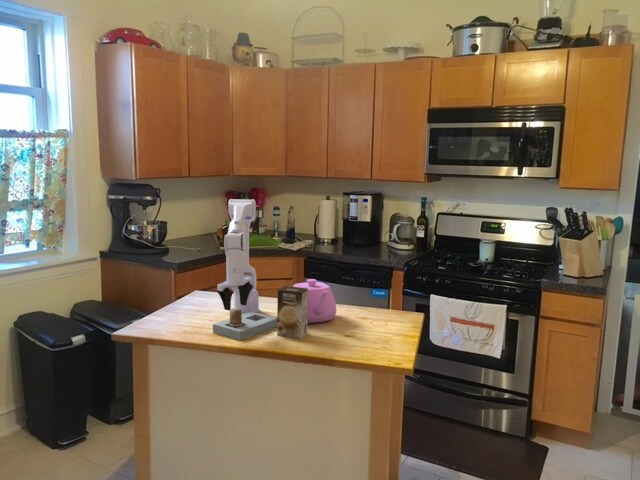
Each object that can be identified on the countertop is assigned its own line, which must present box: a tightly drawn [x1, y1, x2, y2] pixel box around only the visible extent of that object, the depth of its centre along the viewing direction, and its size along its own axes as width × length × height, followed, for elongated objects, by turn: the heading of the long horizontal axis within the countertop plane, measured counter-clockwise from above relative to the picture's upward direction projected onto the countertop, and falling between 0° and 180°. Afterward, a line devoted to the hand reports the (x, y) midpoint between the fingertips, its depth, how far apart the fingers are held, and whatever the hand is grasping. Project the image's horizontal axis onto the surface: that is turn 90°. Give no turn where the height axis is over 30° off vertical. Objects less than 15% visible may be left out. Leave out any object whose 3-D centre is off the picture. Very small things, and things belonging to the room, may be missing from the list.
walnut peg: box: [229, 308, 242, 328], centre depth 181 cm, size 4×4×8 cm
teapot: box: [292, 278, 337, 325], centre depth 194 cm, size 23×21×15 cm
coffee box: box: [276, 285, 308, 339], centre depth 180 cm, size 9×6×16 cm
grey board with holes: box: [212, 312, 277, 341], centre depth 186 cm, size 19×13×3 cm
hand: (235, 307), depth 180 cm, fingers open, 7 cm apart
